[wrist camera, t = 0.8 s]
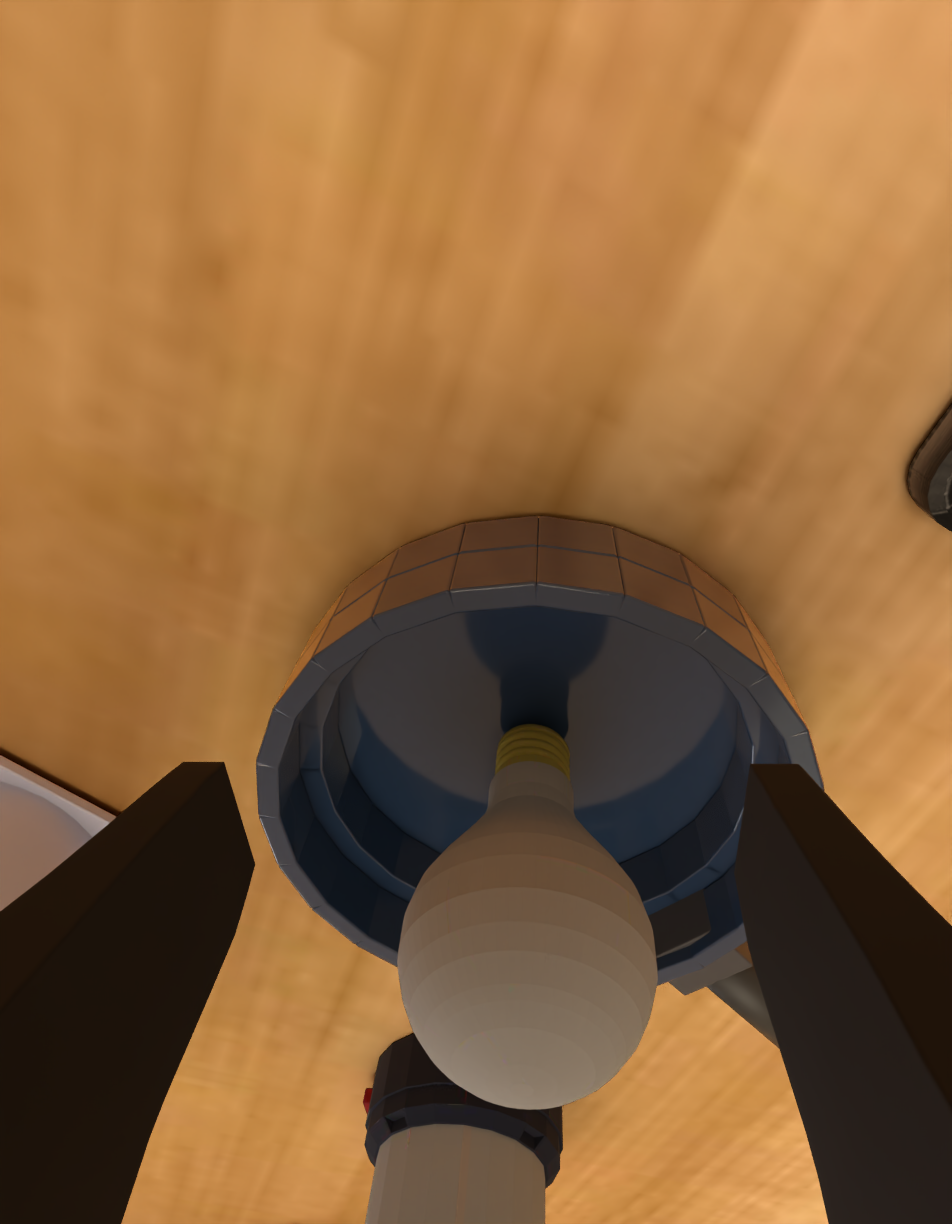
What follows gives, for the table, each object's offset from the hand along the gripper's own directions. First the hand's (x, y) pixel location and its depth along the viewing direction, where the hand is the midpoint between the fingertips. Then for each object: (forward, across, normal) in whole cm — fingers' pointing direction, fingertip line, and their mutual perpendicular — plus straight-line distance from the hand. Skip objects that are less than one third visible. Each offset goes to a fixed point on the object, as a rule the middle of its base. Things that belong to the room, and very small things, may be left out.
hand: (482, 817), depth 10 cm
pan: (+10, 0, +7) cm, 12 cm away
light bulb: (+10, 0, +7) cm, 12 cm away
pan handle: (+8, -7, +15) cm, 19 cm away
